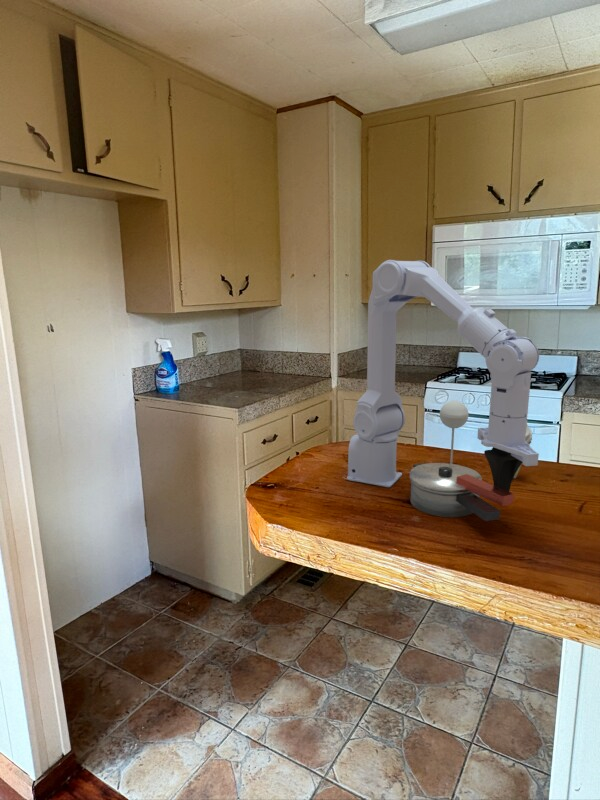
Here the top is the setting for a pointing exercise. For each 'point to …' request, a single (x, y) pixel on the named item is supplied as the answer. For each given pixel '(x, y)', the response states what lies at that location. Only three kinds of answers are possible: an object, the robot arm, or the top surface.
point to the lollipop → (453, 418)
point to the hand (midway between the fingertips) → (501, 492)
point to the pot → (451, 503)
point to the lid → (457, 481)
